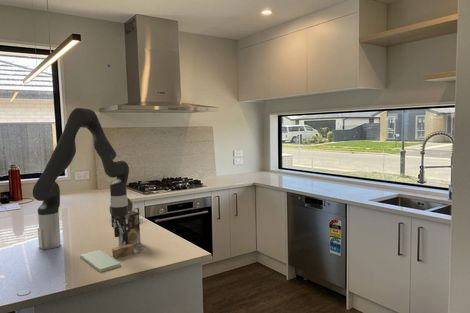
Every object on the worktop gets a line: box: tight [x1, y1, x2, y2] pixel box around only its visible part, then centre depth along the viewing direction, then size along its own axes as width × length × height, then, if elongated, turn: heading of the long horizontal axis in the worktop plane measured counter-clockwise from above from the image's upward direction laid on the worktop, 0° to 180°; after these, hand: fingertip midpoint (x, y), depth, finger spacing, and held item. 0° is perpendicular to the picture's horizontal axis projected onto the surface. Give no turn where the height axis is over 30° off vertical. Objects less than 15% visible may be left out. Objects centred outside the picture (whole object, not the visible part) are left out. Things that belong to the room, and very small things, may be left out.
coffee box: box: [117, 210, 141, 247], centre depth 177 cm, size 9×6×16 cm
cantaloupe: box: [109, 197, 133, 215], centre depth 224 cm, size 14×14×15 cm
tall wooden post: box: [111, 244, 148, 260], centre depth 165 cm, size 15×6×4 cm, turn 133°
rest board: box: [79, 249, 122, 273], centre depth 155 cm, size 9×23×1 cm, turn 43°
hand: (121, 238), depth 162 cm, fingers open, 8 cm apart
